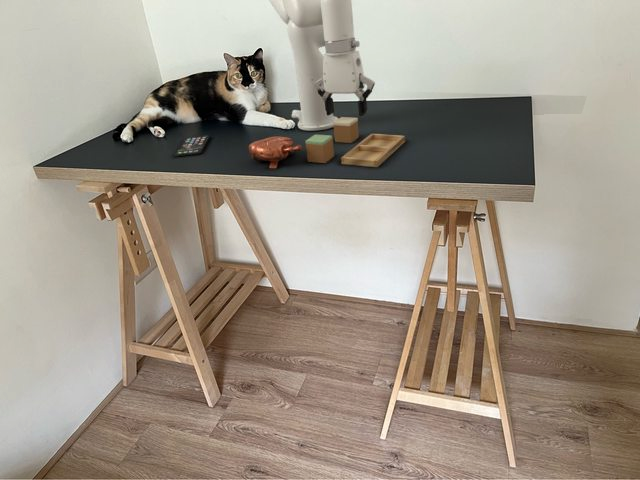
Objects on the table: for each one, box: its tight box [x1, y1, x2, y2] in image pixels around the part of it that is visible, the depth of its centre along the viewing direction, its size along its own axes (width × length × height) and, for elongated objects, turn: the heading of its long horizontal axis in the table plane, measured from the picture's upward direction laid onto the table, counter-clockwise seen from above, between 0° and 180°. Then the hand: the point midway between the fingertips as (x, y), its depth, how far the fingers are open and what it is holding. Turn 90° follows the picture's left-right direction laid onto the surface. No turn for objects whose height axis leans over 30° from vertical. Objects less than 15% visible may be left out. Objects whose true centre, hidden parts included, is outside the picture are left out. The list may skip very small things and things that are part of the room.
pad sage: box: [305, 134, 335, 164], centre depth 124 cm, size 5×5×6 cm
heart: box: [248, 136, 303, 169], centre depth 126 cm, size 6×12×15 cm
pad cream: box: [333, 116, 360, 144], centre depth 135 cm, size 5×5×6 cm
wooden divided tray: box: [340, 133, 406, 168], centre depth 125 cm, size 10×18×2 cm, turn 150°
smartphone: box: [174, 134, 210, 157], centre depth 145 cm, size 7×1×15 cm
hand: (346, 114), depth 132 cm, fingers open, 9 cm apart
